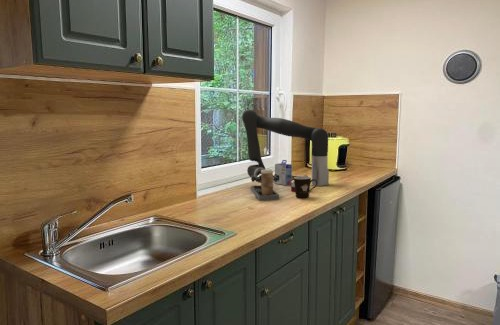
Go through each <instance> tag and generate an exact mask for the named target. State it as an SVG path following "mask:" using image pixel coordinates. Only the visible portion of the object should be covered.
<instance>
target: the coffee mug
mask: <svg viewBox="0 0 500 325" xmlns="http://www.w3.org/2000/svg"><path fill="white" fill-rule="evenodd" d="M307 176H308V175H306V176H305V175H301V176H294V177H293V182H294V184H295V192H294V193H295V198H296V199H302V200H303V199H308V198H310V192H311V191H312V190H314V189H315V188H316V187H318V186H317V180H315V179H313V180H314V181H316V185H313V187H312V188H311V184H312V181H313V180H312V176H308V177H307Z"/></svg>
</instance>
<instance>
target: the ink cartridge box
mask: <svg viewBox="0 0 500 325" xmlns="http://www.w3.org/2000/svg"><path fill="white" fill-rule="evenodd" d="M292 165H293V164H289V163H287V159H282V161H281V163H275V164H274V174H277V175H279V181H277V182H275V181H274V184H277V185H281V186H282V185H283V186H291V184H292V183H293V181H292V180H293V179H292V178H293V174H292V172H293V170H292V169H293V168H292Z"/></svg>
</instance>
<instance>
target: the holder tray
mask: <svg viewBox="0 0 500 325" xmlns="http://www.w3.org/2000/svg"><path fill="white" fill-rule="evenodd" d="M250 191H251V192H252V193H253V195H254V196H255V198H257V200H258V201H260V202H262V201H265V202H266V201H278V200H280V194H279V193H278V192H277V191H276V190H275V189H273V195H261V185H251V186H250Z"/></svg>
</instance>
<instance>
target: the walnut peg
mask: <svg viewBox="0 0 500 325" xmlns="http://www.w3.org/2000/svg"><path fill="white" fill-rule="evenodd" d="M273 172H274V171H273V170H272V169H268V168H267V169H266V170H261V183H260V186H261V195H273V190H274V181H273V179H274V178H273V175H274V173H273Z"/></svg>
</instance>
